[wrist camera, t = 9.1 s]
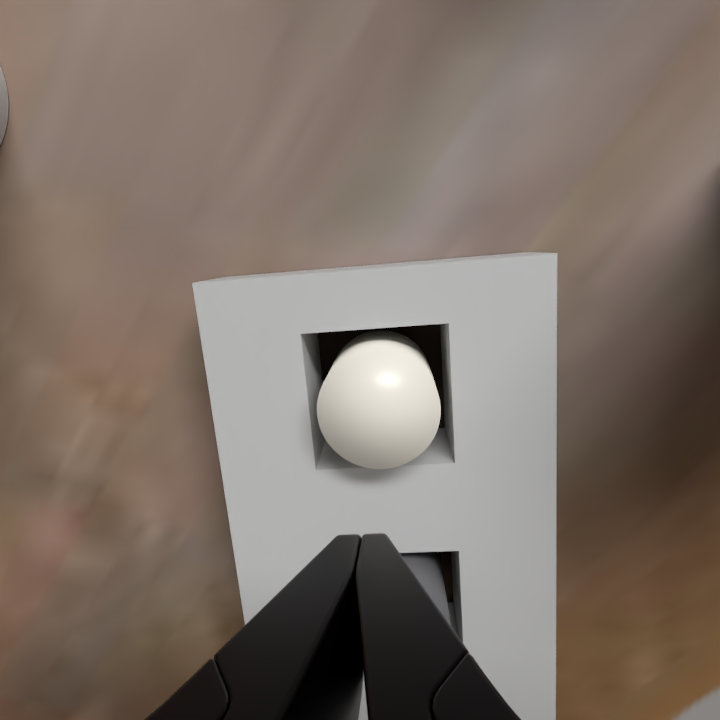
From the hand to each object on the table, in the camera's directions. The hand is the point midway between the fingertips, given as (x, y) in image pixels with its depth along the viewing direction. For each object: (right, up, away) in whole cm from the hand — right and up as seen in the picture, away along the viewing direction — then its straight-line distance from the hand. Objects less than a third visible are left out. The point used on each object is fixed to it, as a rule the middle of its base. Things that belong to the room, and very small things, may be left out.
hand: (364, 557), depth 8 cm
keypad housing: (+2, -6, +14) cm, 15 cm away
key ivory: (+1, +3, +11) cm, 12 cm away
